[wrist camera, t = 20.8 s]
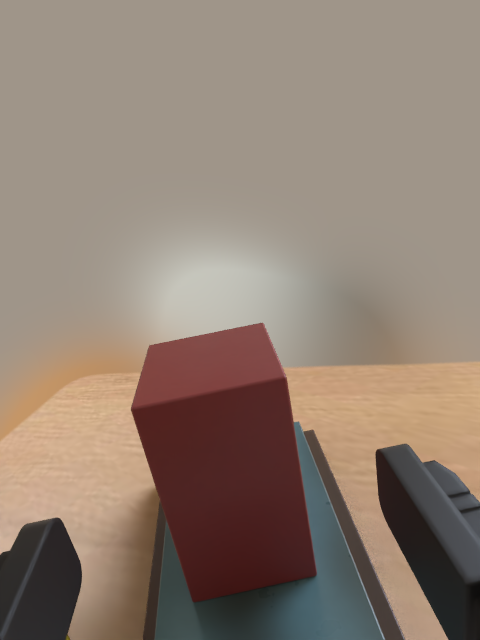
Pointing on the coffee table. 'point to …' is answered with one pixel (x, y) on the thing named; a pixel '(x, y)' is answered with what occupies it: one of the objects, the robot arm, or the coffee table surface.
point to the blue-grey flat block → (286, 598)
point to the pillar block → (225, 460)
